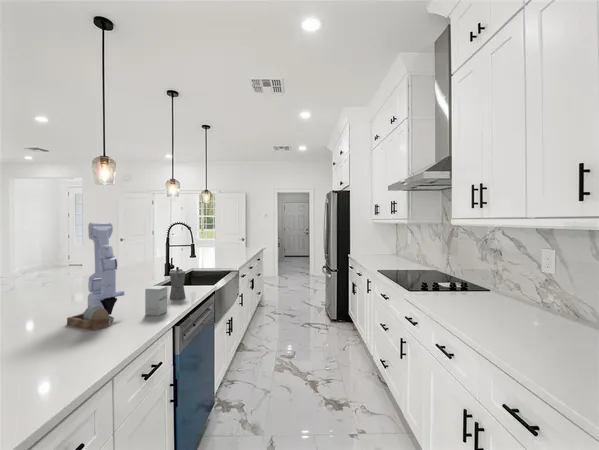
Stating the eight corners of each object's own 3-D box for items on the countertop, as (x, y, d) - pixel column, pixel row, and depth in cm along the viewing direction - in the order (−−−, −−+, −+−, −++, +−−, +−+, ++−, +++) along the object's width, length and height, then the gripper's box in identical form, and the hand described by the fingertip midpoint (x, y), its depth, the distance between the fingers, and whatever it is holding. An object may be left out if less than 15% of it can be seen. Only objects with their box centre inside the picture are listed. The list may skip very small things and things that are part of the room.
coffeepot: (190, 298, 190) (190, 267, 189) (174, 301, 183) (174, 269, 183) (178, 294, 201) (178, 264, 200) (163, 296, 194) (163, 266, 194)
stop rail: (67, 324, 141) (66, 317, 141) (82, 320, 147) (82, 313, 147) (94, 330, 134) (94, 323, 134) (109, 325, 140) (109, 318, 140)
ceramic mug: (91, 328, 137) (91, 309, 137) (83, 324, 142) (83, 306, 142) (117, 322, 145) (117, 304, 145) (108, 318, 150) (109, 302, 150)
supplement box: (158, 316, 155) (158, 289, 154) (144, 315, 156) (144, 288, 156) (167, 311, 162) (167, 286, 162) (154, 310, 163) (154, 285, 163)
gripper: (98, 288, 141) (99, 319, 141) (128, 282, 154) (128, 311, 154) (88, 286, 144) (88, 317, 144) (118, 281, 157) (118, 309, 157)
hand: (108, 314), depth 149 cm, fingers closed
